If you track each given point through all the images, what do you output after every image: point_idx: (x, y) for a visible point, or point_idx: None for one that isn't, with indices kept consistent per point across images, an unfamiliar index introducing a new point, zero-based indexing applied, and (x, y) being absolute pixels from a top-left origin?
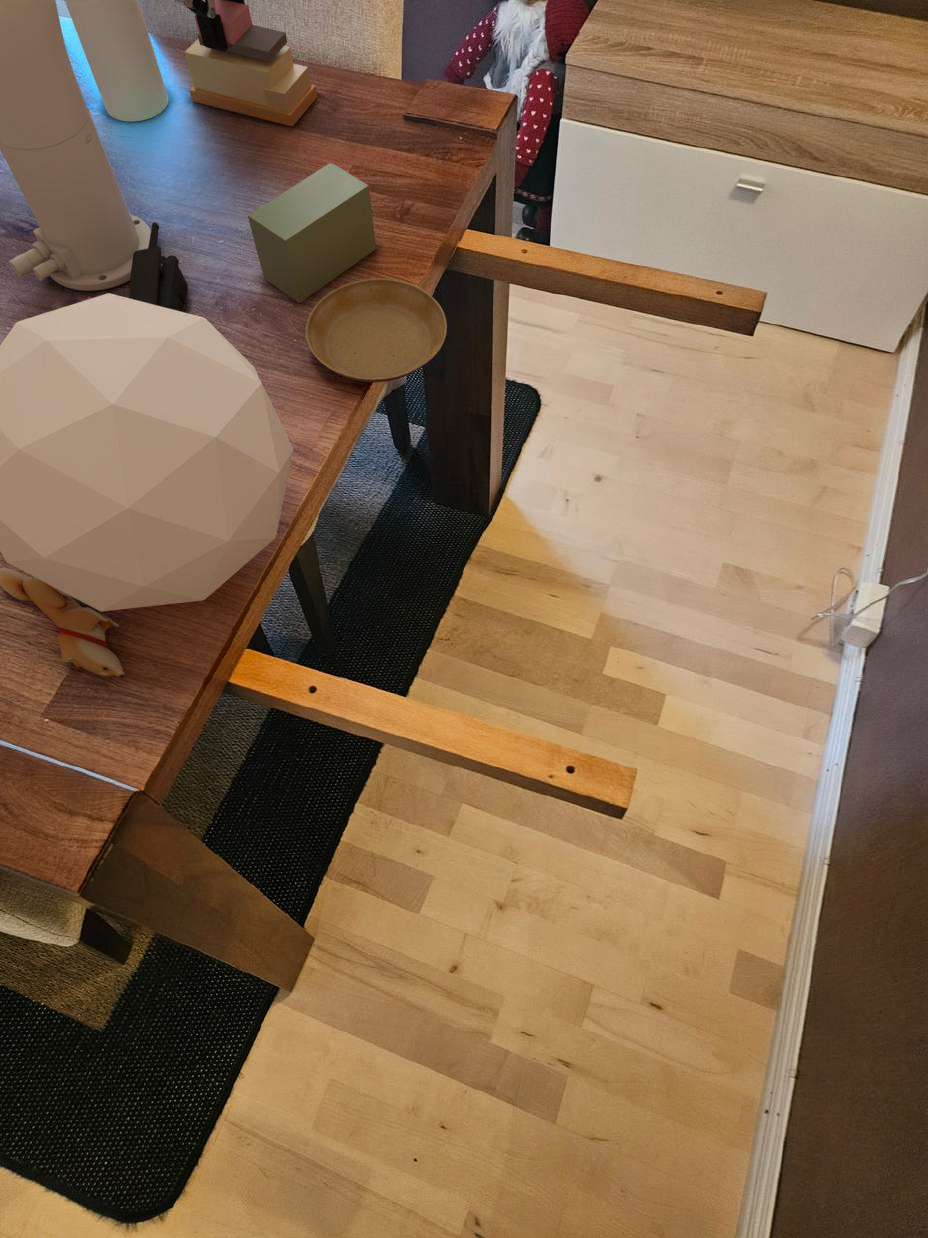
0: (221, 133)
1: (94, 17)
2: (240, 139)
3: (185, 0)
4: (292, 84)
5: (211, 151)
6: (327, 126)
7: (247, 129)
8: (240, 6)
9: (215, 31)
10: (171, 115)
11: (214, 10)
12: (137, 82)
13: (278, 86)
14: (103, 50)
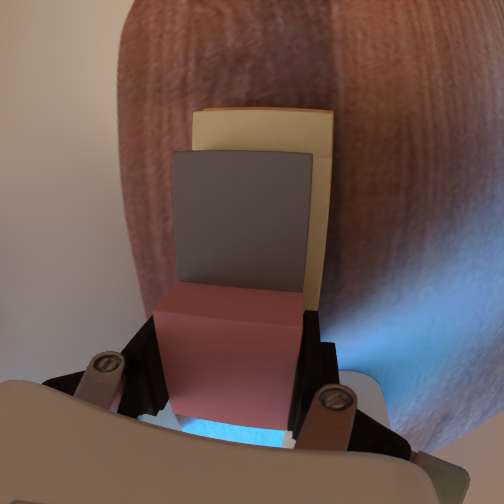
0: (393, 251)
1: None
2: (403, 206)
3: (456, 476)
4: (284, 110)
5: (444, 245)
6: (300, 48)
7: (369, 206)
8: (174, 333)
9: (322, 359)
10: (357, 354)
11: (319, 398)
12: (381, 419)
13: (307, 143)
14: None
